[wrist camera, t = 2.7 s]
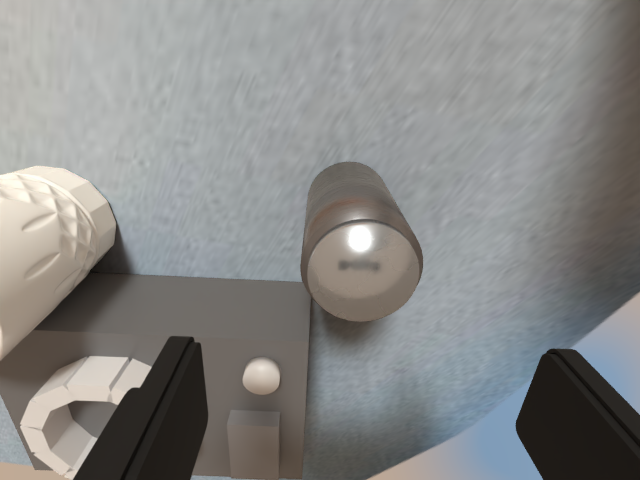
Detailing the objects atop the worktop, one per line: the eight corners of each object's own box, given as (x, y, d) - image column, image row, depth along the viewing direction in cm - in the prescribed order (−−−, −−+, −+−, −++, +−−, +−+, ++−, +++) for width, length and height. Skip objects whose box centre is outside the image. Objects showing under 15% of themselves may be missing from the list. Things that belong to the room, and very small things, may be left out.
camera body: (311, 282, 25) (307, 369, 17) (305, 404, 30) (300, 511, 22) (48, 270, 24) (-68, 354, 17) (88, 396, 29) (11, 502, 22)
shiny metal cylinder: (393, 163, 21) (438, 220, 13) (382, 239, 23) (415, 329, 15) (309, 159, 21) (301, 213, 13) (306, 236, 23) (297, 324, 15)
